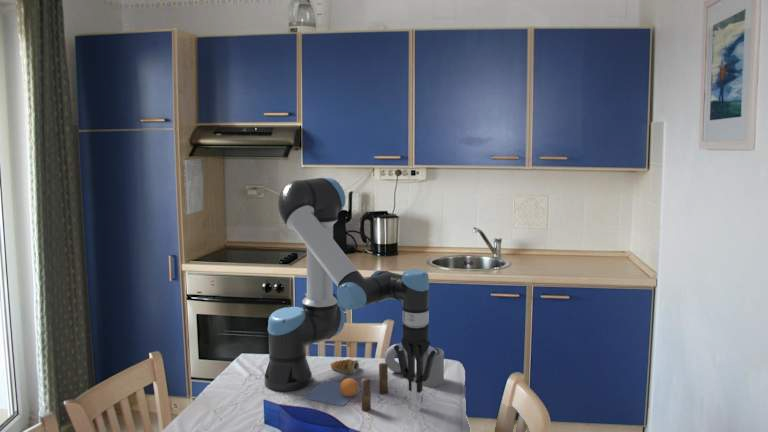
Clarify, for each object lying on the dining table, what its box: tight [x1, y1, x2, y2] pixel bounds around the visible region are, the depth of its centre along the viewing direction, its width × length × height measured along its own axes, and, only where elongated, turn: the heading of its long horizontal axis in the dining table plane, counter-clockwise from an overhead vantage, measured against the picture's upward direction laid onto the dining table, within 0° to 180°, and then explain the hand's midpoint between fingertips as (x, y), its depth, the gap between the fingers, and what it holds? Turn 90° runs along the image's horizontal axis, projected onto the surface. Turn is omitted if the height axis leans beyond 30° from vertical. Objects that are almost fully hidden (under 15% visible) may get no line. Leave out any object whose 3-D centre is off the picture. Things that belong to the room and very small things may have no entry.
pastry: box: [330, 358, 360, 375], centre depth 223 cm, size 9×7×4 cm
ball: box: [340, 377, 359, 397], centre depth 202 cm, size 6×6×6 cm
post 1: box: [360, 377, 372, 412], centre depth 192 cm, size 3×3×9 cm
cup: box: [423, 346, 445, 388], centre depth 212 cm, size 8×8×10 cm
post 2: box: [378, 362, 389, 395], centre depth 204 cm, size 3×3×9 cm
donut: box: [384, 343, 408, 374], centre depth 219 cm, size 10×4×10 cm, turn 86°
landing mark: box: [302, 380, 361, 407], centre depth 204 cm, size 14×14×1 cm
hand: (415, 401), depth 193 cm, fingers closed
